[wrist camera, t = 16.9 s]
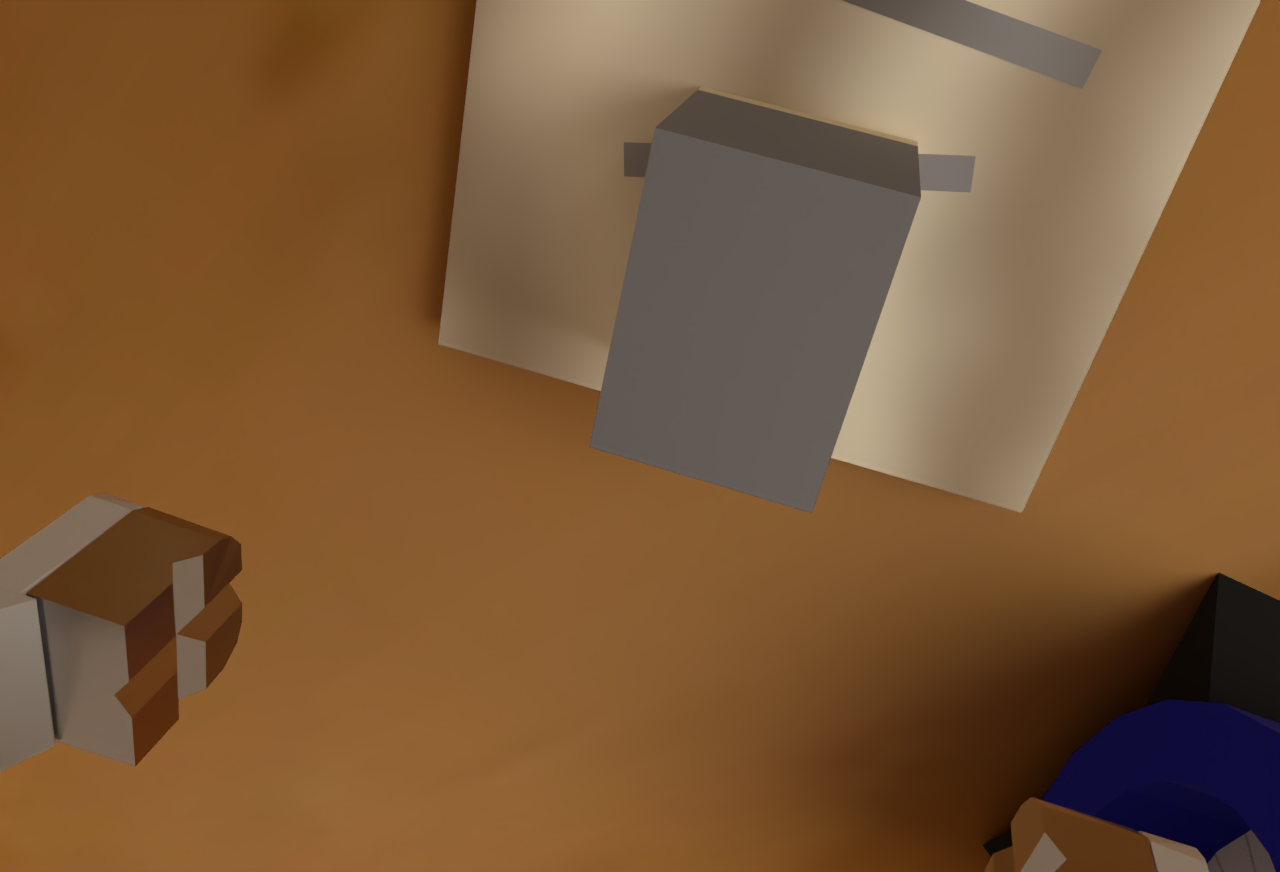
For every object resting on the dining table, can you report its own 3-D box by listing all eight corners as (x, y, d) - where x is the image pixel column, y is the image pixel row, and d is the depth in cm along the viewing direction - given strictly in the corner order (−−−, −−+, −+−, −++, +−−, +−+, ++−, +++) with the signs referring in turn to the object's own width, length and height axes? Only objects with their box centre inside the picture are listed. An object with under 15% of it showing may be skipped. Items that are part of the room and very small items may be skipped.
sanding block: (917, 141, 23) (920, 197, 18) (826, 412, 26) (811, 513, 22) (701, 86, 23) (655, 127, 19) (640, 358, 27) (589, 446, 22)
